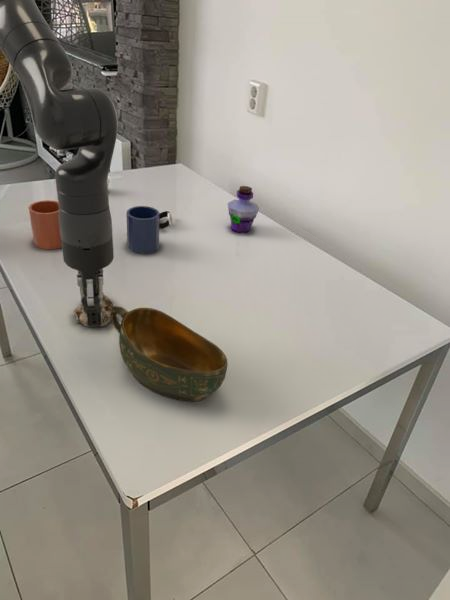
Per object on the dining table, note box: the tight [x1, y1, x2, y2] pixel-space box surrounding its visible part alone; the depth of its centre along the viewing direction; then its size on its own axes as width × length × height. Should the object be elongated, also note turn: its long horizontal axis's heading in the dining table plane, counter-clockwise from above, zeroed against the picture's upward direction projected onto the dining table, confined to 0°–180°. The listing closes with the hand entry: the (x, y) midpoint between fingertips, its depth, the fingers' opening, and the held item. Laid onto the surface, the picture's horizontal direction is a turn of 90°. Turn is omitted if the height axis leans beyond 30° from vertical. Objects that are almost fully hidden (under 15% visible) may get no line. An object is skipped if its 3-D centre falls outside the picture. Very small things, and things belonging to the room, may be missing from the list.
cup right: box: [125, 205, 160, 255], centre depth 109 cm, size 8×8×9 cm
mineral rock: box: [73, 293, 115, 328], centre depth 87 cm, size 11×4×8 cm
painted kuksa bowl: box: [110, 305, 228, 402], centre depth 73 cm, size 13×20×10 cm, turn 33°
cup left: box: [28, 200, 62, 250], centre depth 106 cm, size 8×8×9 cm
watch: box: [159, 210, 173, 230], centre depth 122 cm, size 8×5×4 cm, turn 179°
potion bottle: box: [227, 185, 260, 234], centre depth 122 cm, size 9×9×12 cm
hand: (94, 323), depth 78 cm, fingers closed
